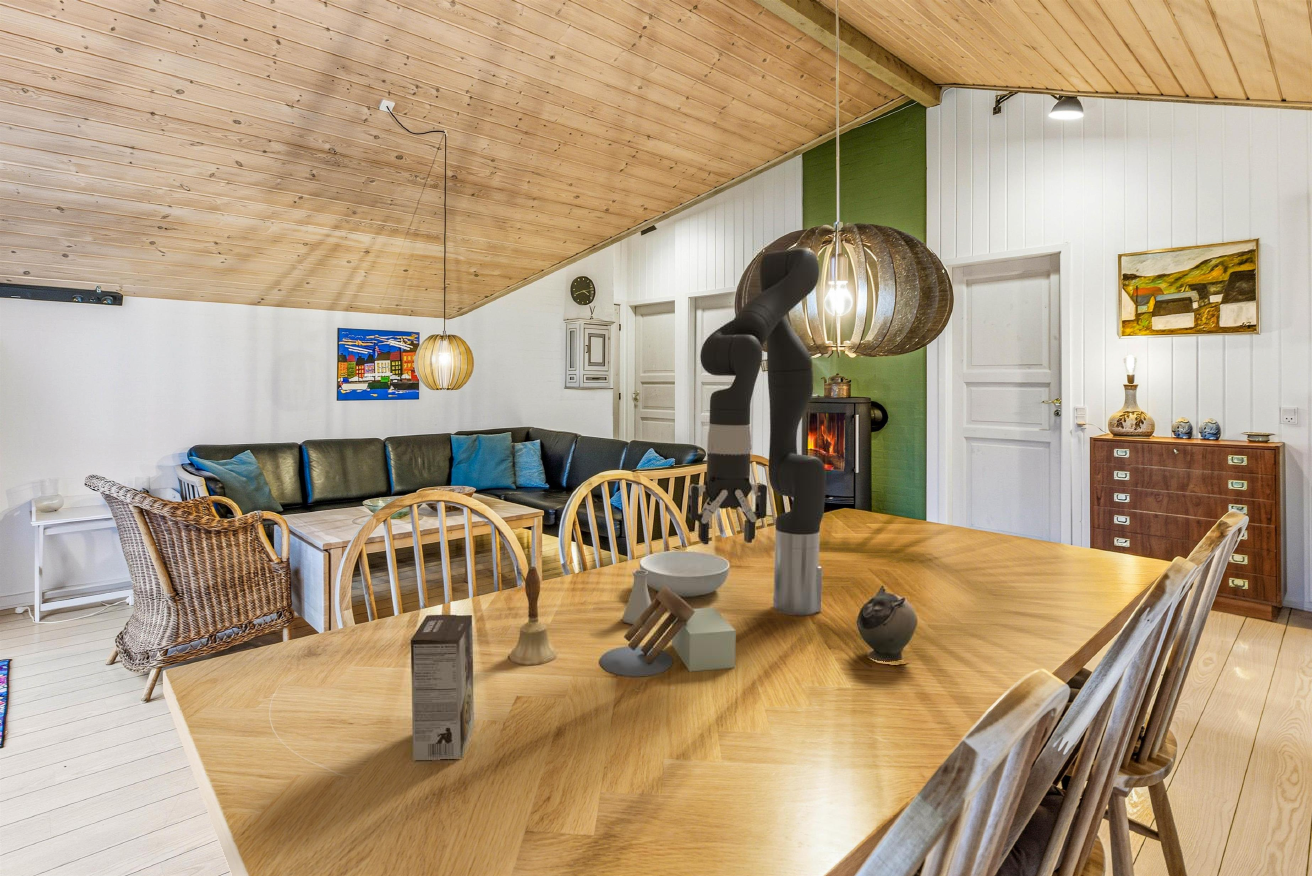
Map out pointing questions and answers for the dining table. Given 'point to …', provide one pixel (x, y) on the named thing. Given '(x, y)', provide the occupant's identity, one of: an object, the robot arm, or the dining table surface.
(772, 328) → the robot arm
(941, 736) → the dining table surface
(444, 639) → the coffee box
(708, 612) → the box
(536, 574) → the hand bell
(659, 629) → the stool
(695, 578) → the serving bowl
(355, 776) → the dining table surface
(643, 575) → the flask
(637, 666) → the mat
